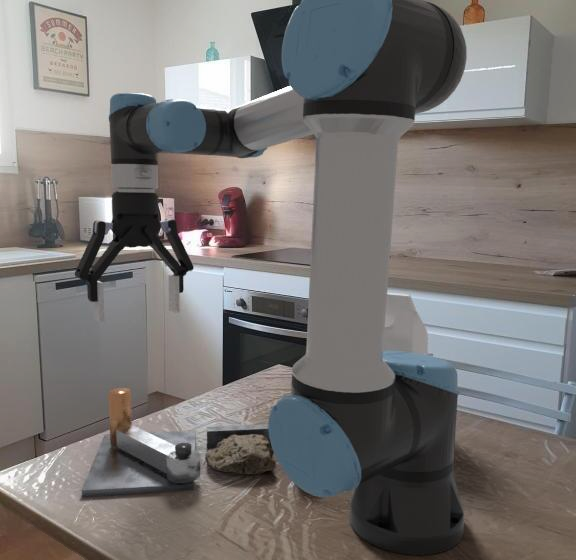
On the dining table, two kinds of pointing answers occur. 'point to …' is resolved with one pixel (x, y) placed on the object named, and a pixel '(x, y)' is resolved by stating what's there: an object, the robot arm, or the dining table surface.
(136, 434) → the lever
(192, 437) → the cracker base
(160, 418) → the dining table surface
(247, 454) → the rock
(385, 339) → the milk
